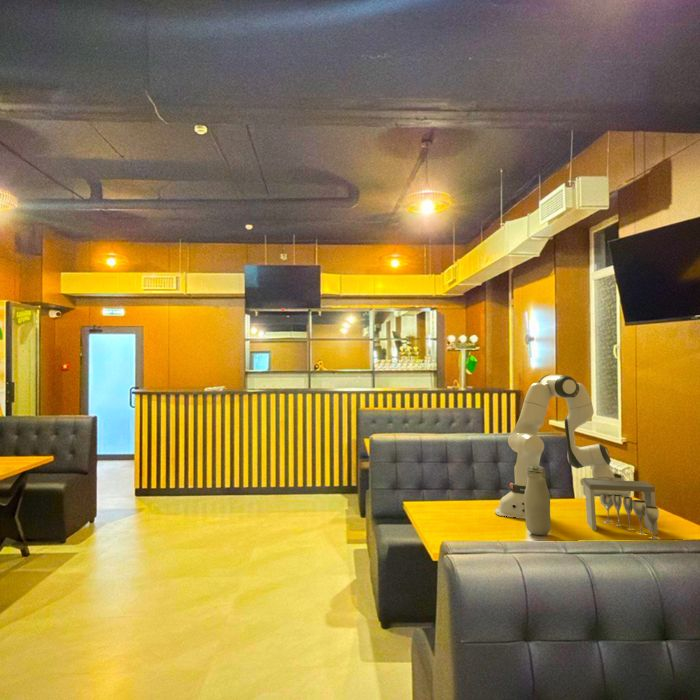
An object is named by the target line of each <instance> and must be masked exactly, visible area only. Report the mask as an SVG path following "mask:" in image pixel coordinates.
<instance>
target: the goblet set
mask: <svg viewBox="0 0 700 700" xmlns="http://www.w3.org/2000/svg"><path fill="white" fill-rule="evenodd" d="M599 501H600V504H601V505H602V506H603V507H604V508H605V510H606V512H607V513H606V514H607V520H602V523H604V524H608V523H613V522H614V521H612V520H610V519H609V517H610V515H609V513H610V509H611V508H612V507H613V506H614V508H615V510H616V513H617V521H618V522H617V524H616V525H618V526H621V525H622V524H620V510H621V507H622V505H623V508H624V511H625V512H626V514H627V519H628V526H629V527H626V528H627V529H630V530H632V529H633V528H632V529H631V514H632V511H633V513H634V514H635V515H636V516H637V518H638V520H639V526H640V527H639V528H640V531H637V532H638V533H641V534H644V531H643V528H642V527H643V526H642V523H643V518H644V516H645V514H646V517H647V518H648V520H649V521H650V523H651V525H652V530H653V533H652V535H650V536H651V537H652V538H649V539H651V540H655V539H658V540H661V537H659V536H656V537H655V535H654V524H655V522H656V521H657V522H658V519H659V517H660V511H659V510H660V509H659V507H657V506H656V507H654V506H647V504H646V501H643V499H633V498H632V497H631V496H630V497H624V498H623V499H622V498H621V495H611V494H601V496H600V497H599ZM658 537H659V538H658Z"/></svg>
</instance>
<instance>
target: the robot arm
mask: <svg viewBox="0 0 700 700" xmlns="http://www.w3.org/2000/svg"><path fill="white" fill-rule="evenodd" d="M553 397H554V398H563V399H564V400H565V401H566V402H565V403H566V406H567V410H568V413H567V416H566V417H565V418H564V430H565V439H566V446H567V455H566V456H567V461H568V463H569V465H570V466H571V467H573V468H575V469H582V468H584V467H590V469H591V476H592V477H583V478H581V479H580V484H581V486H582V494H583V496H585V497H586V494H585V479H592V480H619V481H625V477H624V475H623V474H619V473H615V472H613V471H612V470H611V465H610V464H611V461H612V460H611V457H610V453H609V452H610V451H609V450H608V447H606V446H605V445H603V444H601V443H596V444H590V445H585V446H576V437H575V432H576V430H577V429H578V428H579V427H580V426H583V425H584V424H586V423H587V422H589V421H590V420H591V419H592V418H593V415H594V412H595V411H594V406H593V402H592V400H591V397H590V395H589V393H588V390H587V388H586V387H585V385H584V384H583V383H581V382H577V381H576V379H574V378H573V377H571V376H569V375H564V374H563V375H561V374H558V373H557V374H546V375H543V376H542V377H541V378H540V379H539V380H538V381H537V382H534V383H532V384H531V385H530V386H529V388H528V390H527V392H526V395H525V396H524V400H523V404H522V406H521V411H520V414H519V418H518V420H517V422H516V424H515V425H514V428H513V430H512V432H511V433H510V434H509V436H508V437H507V438H508V439H507V443H508V446H509V448H511V450H512V451H513V452H515V453H517V457H516V461H515V465H514V468H513V469H514V483H513V482H510V483H509V487H510V491H509V492H507V494H506V495H504V496H502V497H501V498H500V499H499V505H498V507H496V508H494V513H496V514H497V515H496V514H495V515H496V516H498V515H499V517H504V516H505V517H506V516H507V517H506V518H513V517H516V518H515V519H521V520H522V519H523V520H526V517H525V516H526V515H525V498H524V497H525V496H524V495H525V489H526V485H527V479H528V475H527V468H528V467H530V466H534V465H535V466H540V463H541V456H542V453H543V452H544V449H545V443H544V440H543V439H542V438H541V437H540V436H539V435H537V434H538V431H539V430H540V428H541V427H542V426H543V425H544V423H545V418H546V416H547V412H548V407H549V403H550V401H551V399H552V398H553ZM631 492H632V491H616V490H594V497H599V498H600V496H601V494H611V495H621V498H624V497H631V494H632V493H631ZM505 517H504V518H505Z"/></svg>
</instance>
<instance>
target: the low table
mask: <svg viewBox="0 0 700 700" xmlns="http://www.w3.org/2000/svg"><path fill="white" fill-rule="evenodd" d="M594 490H616V491H631V492H640V493H642V500H643V501H646V504H647V506H654V507H657V504H656V489H655V486H653V485H652V484H650V483H649V482H647V481H642V480H641V481H639V480H624V481H619V480H592V479H585V494H586V496H585V508H586V510H585V511H586V523H587V525H588V526H589V527H590V529H591V530H592V531H593V530H596V531H597V519H596V518H597V516H596V515H597V514H596V501H595V500H596V499H595V498H596V496H594ZM643 518H644V519H643V521H644V522H643V523H644V527H645V528H646V529H647V530H648V531H651V532H652V534H653V530H652V525H651V523H650V521H649V520H648V518H647V517H646V514H645V516H644V517H643ZM596 531H595V532H596ZM651 532H650V533H651ZM654 534H658V535H659V532H658V520H657V521H656V522H655V524H654Z"/></svg>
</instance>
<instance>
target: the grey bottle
mask: <svg viewBox="0 0 700 700" xmlns="http://www.w3.org/2000/svg"><path fill="white" fill-rule="evenodd" d="M545 469H546V468H544V467H543V466H541V465H539V466H535V465H534V466H530V467H528V468H527V475H528V479H527V485H526V489H525V495H524V496H525V497H524V498H525V515H526V516H525V517H526V519H525V527H526V529H527V531H528V532H529V533H530V534H532V535H534V536H546V535H548V534H549V532H550V531H551V523H552V522H551V520H552V519H551V497H550V492H549V488H548V485H547V482H546V481H547V480H546V474H547V473H546V471H545Z"/></svg>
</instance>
